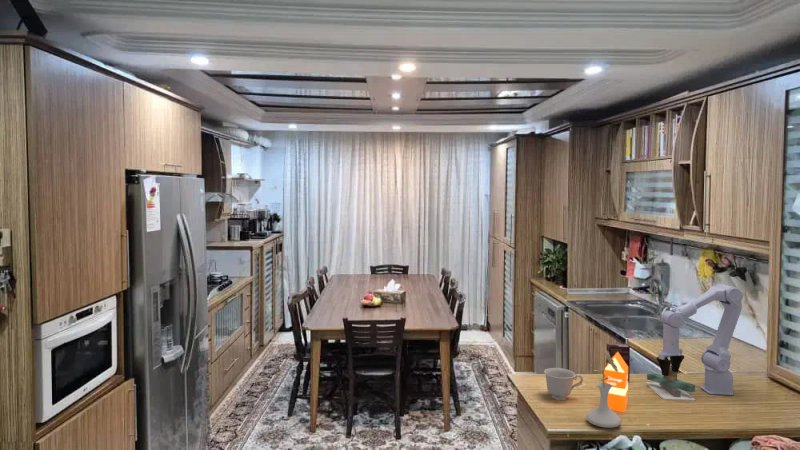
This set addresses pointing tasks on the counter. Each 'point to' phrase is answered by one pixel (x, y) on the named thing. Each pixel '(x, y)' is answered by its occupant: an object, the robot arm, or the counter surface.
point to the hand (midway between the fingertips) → (670, 373)
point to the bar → (671, 381)
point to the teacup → (561, 382)
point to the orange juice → (617, 384)
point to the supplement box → (623, 351)
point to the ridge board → (667, 395)
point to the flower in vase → (604, 404)
